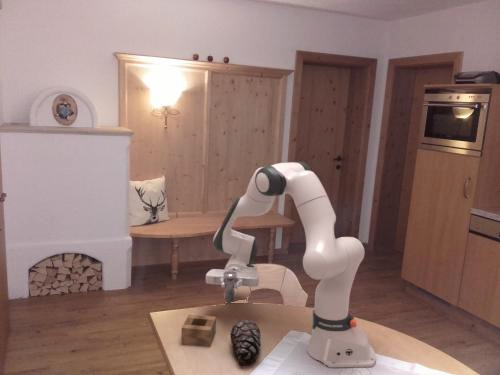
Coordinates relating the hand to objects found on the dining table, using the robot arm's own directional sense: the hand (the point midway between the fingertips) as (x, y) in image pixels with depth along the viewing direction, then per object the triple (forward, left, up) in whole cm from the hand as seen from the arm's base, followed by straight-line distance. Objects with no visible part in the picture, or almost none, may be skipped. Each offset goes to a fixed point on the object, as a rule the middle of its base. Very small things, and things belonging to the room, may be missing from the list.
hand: (229, 286), depth 163 cm
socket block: (+9, +9, -16) cm, 21 cm away
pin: (0, -1, -6) cm, 6 cm away
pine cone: (-9, +17, -17) cm, 25 cm away
